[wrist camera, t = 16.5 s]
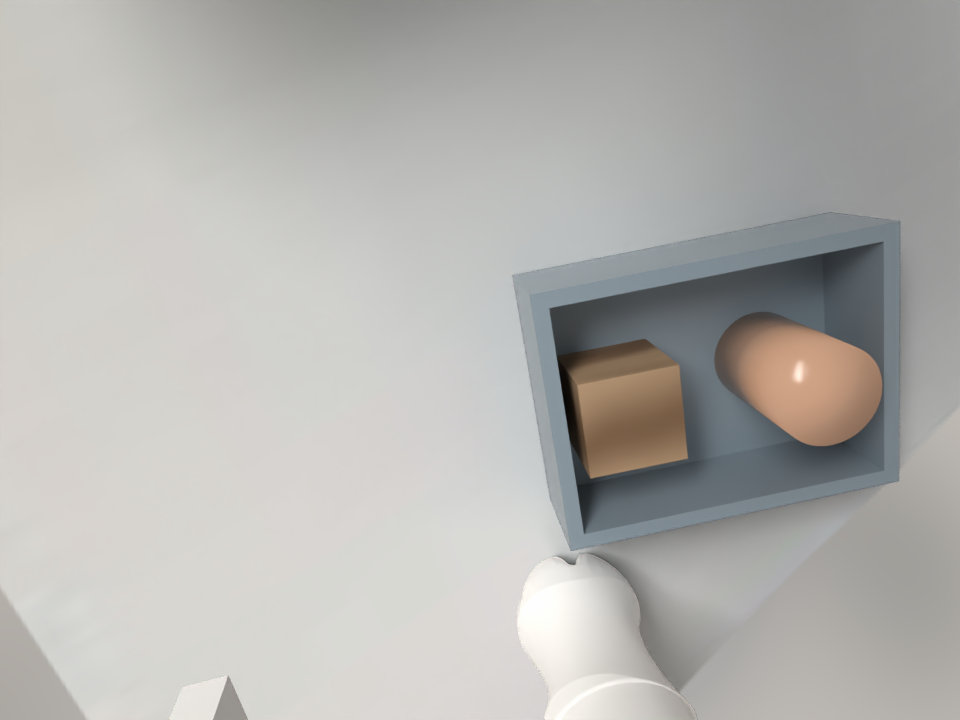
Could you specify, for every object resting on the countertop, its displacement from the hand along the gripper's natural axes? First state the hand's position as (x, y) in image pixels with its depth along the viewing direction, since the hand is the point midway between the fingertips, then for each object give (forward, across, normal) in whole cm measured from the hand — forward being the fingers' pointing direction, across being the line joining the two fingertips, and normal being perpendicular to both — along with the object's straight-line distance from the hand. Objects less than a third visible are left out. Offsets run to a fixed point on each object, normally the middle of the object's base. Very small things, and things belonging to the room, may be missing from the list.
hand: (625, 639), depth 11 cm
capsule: (+25, +14, -7) cm, 30 cm away
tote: (+26, +10, -6) cm, 29 cm away
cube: (+25, +6, -6) cm, 27 cm away
